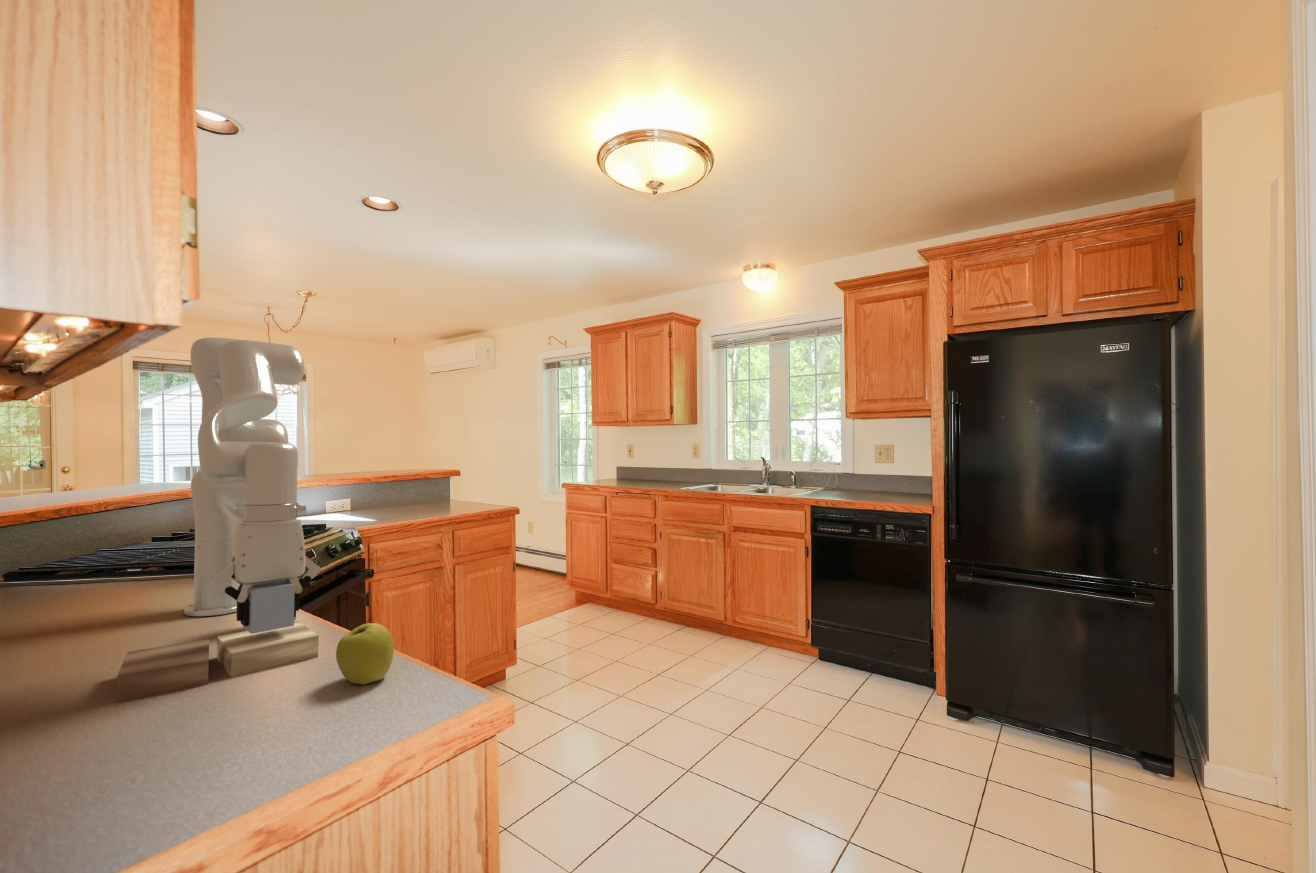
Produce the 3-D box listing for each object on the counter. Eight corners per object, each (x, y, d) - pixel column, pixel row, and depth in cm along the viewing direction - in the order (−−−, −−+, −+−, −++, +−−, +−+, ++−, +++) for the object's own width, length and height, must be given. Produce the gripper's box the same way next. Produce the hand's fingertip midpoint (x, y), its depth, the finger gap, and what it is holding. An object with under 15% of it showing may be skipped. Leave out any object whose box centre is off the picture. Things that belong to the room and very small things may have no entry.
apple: (402, 658, 92) (397, 605, 89) (387, 692, 85) (382, 635, 82) (350, 661, 91) (343, 607, 88) (330, 696, 83) (323, 639, 81)
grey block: (243, 626, 95) (244, 584, 96) (284, 618, 100) (285, 578, 100) (251, 633, 91) (252, 590, 92) (293, 625, 96) (294, 584, 96)
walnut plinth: (126, 677, 88) (127, 651, 88) (208, 662, 94) (209, 638, 94) (116, 704, 78) (117, 675, 78) (207, 686, 84) (208, 659, 85)
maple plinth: (216, 659, 95) (217, 636, 95) (298, 642, 104) (298, 620, 104) (231, 679, 87) (231, 653, 87) (318, 659, 96) (318, 635, 96)
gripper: (320, 509, 105) (318, 605, 104) (202, 516, 92) (200, 626, 92) (333, 511, 100) (331, 613, 99) (211, 520, 87) (208, 637, 87)
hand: (268, 618), depth 96 cm, fingers closed on grey block, 6 cm apart
